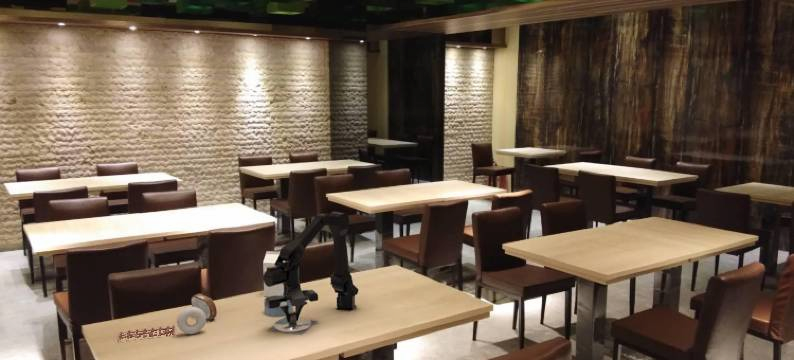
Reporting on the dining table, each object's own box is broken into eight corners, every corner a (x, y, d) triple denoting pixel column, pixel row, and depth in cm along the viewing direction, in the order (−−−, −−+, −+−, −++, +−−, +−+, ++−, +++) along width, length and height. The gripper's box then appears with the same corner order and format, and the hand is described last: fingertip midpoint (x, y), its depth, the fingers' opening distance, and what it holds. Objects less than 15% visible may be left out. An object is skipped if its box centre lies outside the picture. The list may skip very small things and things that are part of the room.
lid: (317, 320, 233) (316, 308, 232) (301, 334, 220) (301, 321, 219) (284, 317, 237) (284, 305, 236) (267, 330, 224) (266, 317, 223)
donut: (206, 330, 226) (204, 303, 224) (207, 333, 223) (206, 306, 221) (177, 334, 222) (175, 307, 220) (178, 337, 219) (176, 310, 217)
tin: (217, 320, 235) (216, 299, 234) (210, 323, 233) (209, 301, 232) (197, 311, 245) (196, 291, 244) (190, 313, 243) (189, 293, 242)
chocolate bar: (119, 336, 222) (118, 330, 222) (174, 329, 228) (174, 324, 227) (116, 343, 215) (116, 338, 215) (174, 336, 221) (173, 331, 221)
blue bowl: (297, 309, 247) (296, 296, 246) (284, 318, 236) (284, 305, 236) (272, 307, 250) (272, 293, 249) (259, 316, 239) (259, 302, 239)
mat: (317, 322, 233) (317, 320, 233) (301, 335, 220) (301, 334, 220) (284, 318, 237) (284, 317, 237) (266, 331, 224) (266, 330, 224)
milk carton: (279, 297, 261) (278, 254, 259) (264, 296, 263) (262, 253, 260) (286, 292, 268) (284, 250, 266) (270, 291, 270) (269, 249, 267)
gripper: (273, 290, 214) (274, 333, 217) (323, 282, 223) (324, 323, 225) (264, 281, 224) (265, 323, 226) (312, 274, 233) (313, 314, 235)
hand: (292, 321), depth 228 cm, fingers closed on lid, 3 cm apart
